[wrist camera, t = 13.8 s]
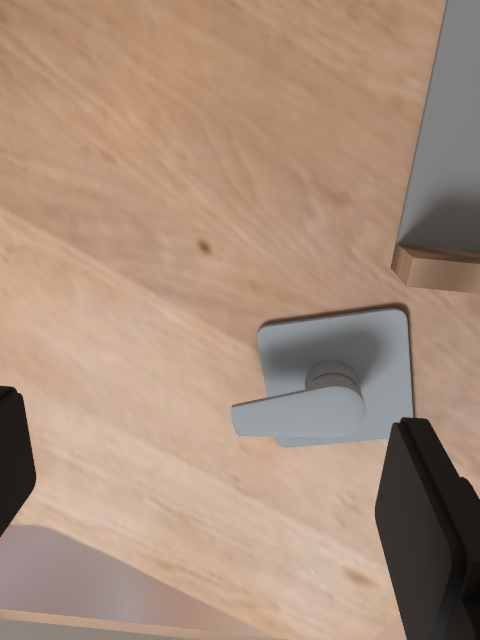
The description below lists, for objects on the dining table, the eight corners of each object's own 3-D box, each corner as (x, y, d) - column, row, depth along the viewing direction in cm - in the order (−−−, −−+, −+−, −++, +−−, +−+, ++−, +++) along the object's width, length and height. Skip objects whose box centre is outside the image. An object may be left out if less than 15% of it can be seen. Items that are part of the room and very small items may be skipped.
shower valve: (216, 355, 33) (422, 328, 31) (225, 328, 38) (403, 303, 36) (245, 485, 38) (429, 471, 35) (250, 445, 43) (411, 430, 40)
